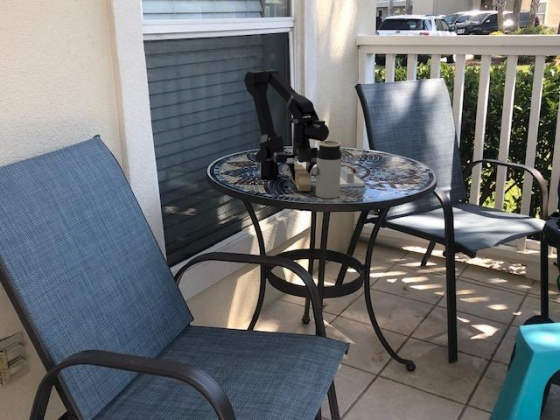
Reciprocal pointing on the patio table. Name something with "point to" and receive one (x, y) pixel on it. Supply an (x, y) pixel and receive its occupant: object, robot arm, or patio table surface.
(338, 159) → the travel mug
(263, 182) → the patio table surface
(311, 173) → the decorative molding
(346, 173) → the fulcrum stand
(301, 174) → the oak bar
